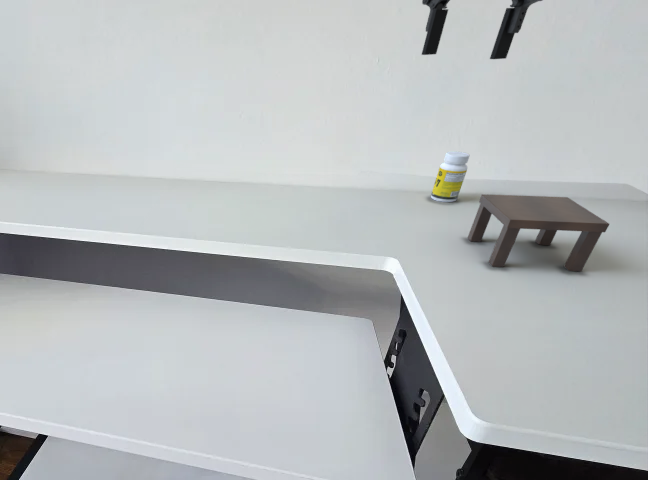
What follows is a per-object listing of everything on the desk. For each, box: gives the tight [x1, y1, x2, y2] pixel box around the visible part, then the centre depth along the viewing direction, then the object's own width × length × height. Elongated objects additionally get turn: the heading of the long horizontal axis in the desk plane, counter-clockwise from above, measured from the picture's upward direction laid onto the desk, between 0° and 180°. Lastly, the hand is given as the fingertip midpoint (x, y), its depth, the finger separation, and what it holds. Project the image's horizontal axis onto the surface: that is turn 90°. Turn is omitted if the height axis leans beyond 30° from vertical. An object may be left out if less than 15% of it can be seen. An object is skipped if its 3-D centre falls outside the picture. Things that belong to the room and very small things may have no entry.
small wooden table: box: [467, 193, 610, 272], centre depth 73 cm, size 12×12×7 cm
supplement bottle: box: [430, 151, 470, 203], centre depth 95 cm, size 5×5×8 cm
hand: (461, 56), depth 83 cm, fingers open, 13 cm apart
